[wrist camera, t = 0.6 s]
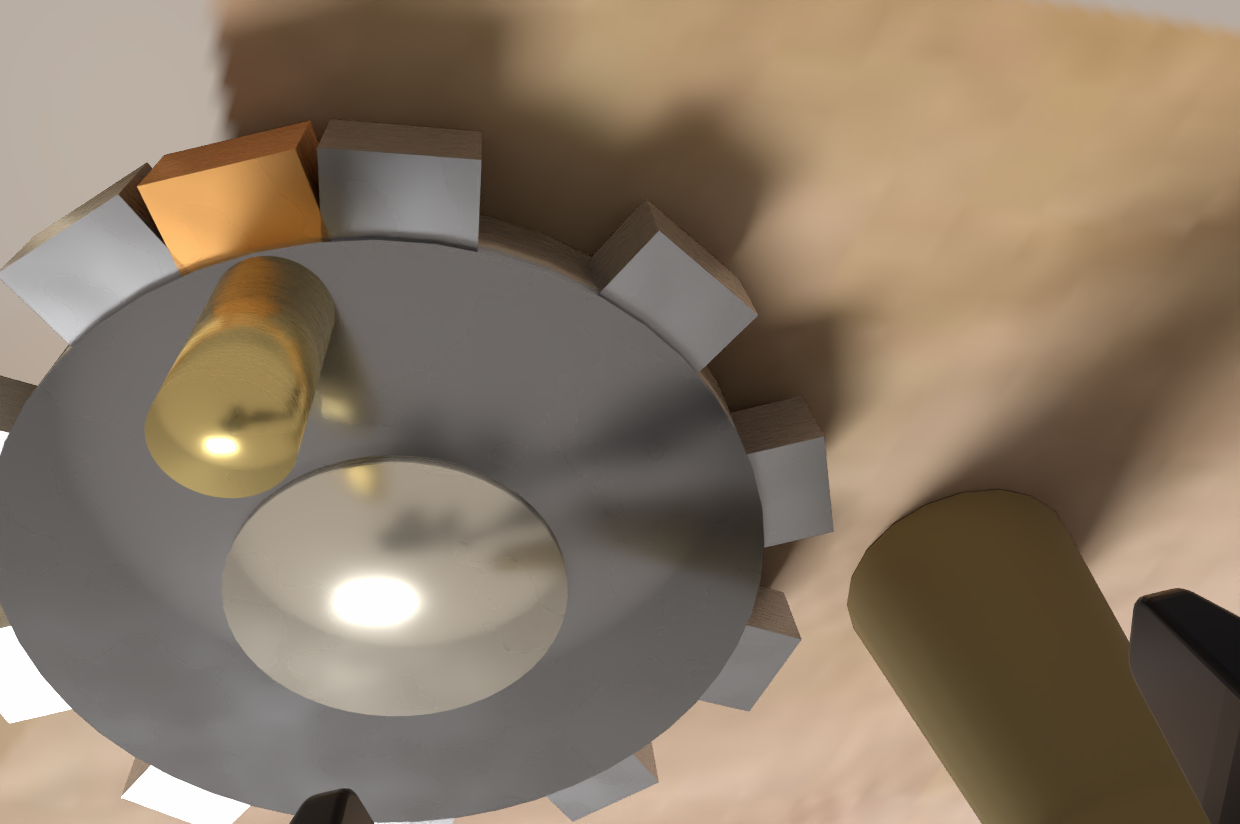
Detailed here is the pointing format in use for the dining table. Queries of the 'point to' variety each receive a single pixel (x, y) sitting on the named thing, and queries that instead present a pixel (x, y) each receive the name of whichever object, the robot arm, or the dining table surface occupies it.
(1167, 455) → the dining table surface
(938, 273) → the dining table surface
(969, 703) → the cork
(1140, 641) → the robot arm
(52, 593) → the sprocket
